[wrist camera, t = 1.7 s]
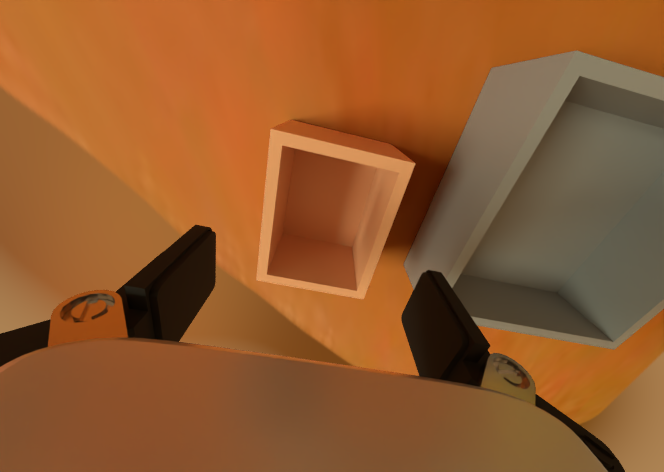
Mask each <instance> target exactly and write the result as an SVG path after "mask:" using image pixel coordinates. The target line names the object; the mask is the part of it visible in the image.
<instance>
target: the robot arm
mask: <svg viewBox="0 0 664 472" xmlns="http://www.w3.org/2000/svg"><path fill="white" fill-rule="evenodd" d="M215 268H216V234H215V232H213V231H212V229H211V228H210V227H205V226H200V225H195V226H193V227H192V228H191V229H190V230H189V231H188V232H186V233H185V234H184V235H183V236H182V237H181V238H179V239H178V240H177V241H176V242H175V243H174V244H172V245H171V246H170V247H169V248H168V249H166V250H165V251H164V252H162V253H161V254H160V255H159V256H157V257H156V258H155V259H154V260H153V261H152V262H150V263H149V264H148V265H147V266H146V267H144V268H143V269H142V270H141V271H140V272H139V273H137V274H136V275H135V276H134V277H133V278H131V279H130V280H129V281H128V282H127V283H126V284H124V285H123V286H122V287H121V288H120V289H118V290H117V291H116V292H114V291H109V290H94V291H88V292H84V293H81V294H77V295H75V296H73V297H71V298H68V299H67V300H65V301H64V302H62V303H61V304H59V305H58V306H57V307H56V308H55V309H54V311H53V313H52V315H51V319H50V320H47V321H43V322H40V323H36V324H33V325H29V326H26V327H22V328H19V329H16V330H12V331H9V332H5V333H1V334H0V472H625V470H624V469H623V467H622V465H621V464H620V462H619V460H618V459H617V458H616V457H615V455H614V454H613V453H612V451H611V450H610V449H609V448H608V447H607V446H606V445H605V444H604V443H603V442H602V441H600V440H599V439H598V438H596V437H595V436H594V435H592V434H591V433H590V432H588V431H587V430H585V429H584V428H583V427H581V426H580V425H578V424H577V423H576V422H574V421H573V420H571V419H570V418H569V417H567V416H566V415H564V414H563V413H562V412H560V411H559V410H557V409H556V408H555V407H553V406H552V405H550V404H549V403H548V402H546V401H545V400H543V399H542V398H541V397H539V396H538V395H536V394H535V391H536V388H535V383H534V381H533V379H532V377H531V376H530V375H529V373H528V372H527V371H526V370H525V369H524V368H523V367H522V366H521V365H520V364H519V363H517V362H516V361H514V360H513V359H511V358H509V357H507V356H505V355H502V354H499V353H493V354H490V353H489V352H488V348H489V347H490V344H489V343H488V341H487V340H486V338H485V337H484V335H483V334H482V332H481V331H480V329H479V328H478V326H477V325H476V323H475V322H474V320H473V319H472V317H471V316H470V314H469V313H468V311H467V310H466V308H465V307H464V305H463V304H462V302H461V301H460V299H459V298H458V296H457V295H456V293H455V292H454V290H453V289H452V287H451V286H450V284H449V283H448V281H447V280H446V278H445V277H444V275H443V274H442V273H441V272H438V271H432V270H427V271H426V272H423V273H422V274H421V276H420V278H419V280H418V282H417V284H416V286H415V289H414V291H413V293H412V295H411V297H410V299H409V301H408V303H407V305H406V307H405V309H404V311H403V314H402V324H403V327H404V330H405V333H406V336H407V339H408V342H409V345H410V348H411V351H412V354H413V357H414V360H415V364H416V367H417V370H418V373H419V376H414V375H408V374H401V373H394V372H388V371H381V370H375V369H368V368H362V367H355V366H348V365H341V364H334V363H328V362H321V361H313V360H307V359H300V358H293V357H286V356H279V355H271V354H265V353H258V352H250V351H244V350H237V349H230V348H222V347H215V346H208V345H199V344H192V343H183V342H179V341H180V339H181V337H182V336H183V335H184V333H185V331H186V330H187V328H188V327H189V325H190V324H191V322H192V321H193V319H194V318H195V316H196V315H197V313H198V312H199V310H200V309H201V307H202V306H203V304H204V303H205V301H206V300H207V298H208V297H209V295H210V293H211V292H212V290H213V288H214V286H215Z"/></svg>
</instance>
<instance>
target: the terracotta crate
mask: <svg viewBox="0 0 664 472" xmlns="http://www.w3.org/2000/svg"><path fill="white" fill-rule="evenodd" d="M415 164H416V163H414V162H413V161H412V160H411V159H409V158H408V157H407V156H406V155H404V154H403V153H402V152H400V151H399V150H398V149H397V148H395V147H394V146H393V145H392V144H389V143H385V142H381V141H377V140H373V139H368V138H364V137H360V136H356V135H352V134H348V133H344V132H340V131H336V130H332V129H328V128H324V127H319V126H315V125H311V124H307V123H303V122H299V121H295V120H289V121H287V122H285V123H283V124H280V125H278V126H276V127H274V128H271V131H270V141H269V152H268V162H267V173H266V183H265V194H264V205H263V215H262V226H261V236H260V247H259V257H258V268H257V279H256V280H257V281H263V282H269V283H274V284H280V285H285V286H291V287H297V288H302V289H308V290H313V291H319V292H325V293H330V294H336V295H341V296H347V297H353V298H358V299H364V297H365V294H366V292H367V289H368V286H369V284H370V281H371V278H372V276H373V273H374V271H375V268H376V265H377V263H378V260H379V258H380V255H381V252H382V250H383V247H384V245H385V242H386V239H387V237H388V234H389V232H390V229H391V226H392V224H393V221H394V218H395V216H396V213H397V211H398V208H399V205H400V203H401V200H402V198H403V195H404V192H405V190H406V187H407V185H408V182H409V179H410V177H411V174H412V172H413V169H414V166H415Z"/></svg>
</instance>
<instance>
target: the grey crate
mask: <svg viewBox="0 0 664 472" xmlns="http://www.w3.org/2000/svg"><path fill="white" fill-rule="evenodd" d="M404 267H405V270H406V272H407V274H408V277H409V279H410V282H411V284H412V287H413V289H415V286H416V284H417V282H418V280H419V278H420V276H421V274H422V273H423V272H426V271H427V270H432V271H438V272H441V273H442V274H443V275H444V277H445V278H446V280H447V281H448V283H449V284H450V286H451V287H452V289H453V290H454V292H455V293H456V295H457V296H458V298H459V299H460V301H461V302H462V304H463V305H464V307H465V308H466V310H467V311H468V313H469V314H470V316H471V317H472V319H473V320H474V322H475V323H476V325H478V326H484V327H489V328H495V329H501V330H507V331H512V332H518V333H524V334H529V335H535V336H541V337H546V338H552V339H558V340H563V341H569V342H575V343H580V344H586V345H592V346H597V347H603V348H609V349H616V348H617V347H618V346H619V345H620V344H622V343H623V342H624V341H625V340H626V339H628V338H629V337H630V336H631V335H632V334H634V333H635V332H636V331H637V330H638V329H640V328H641V327H642V326H643V325H645V324H646V323H647V322H648V321H649V320H651V319H652V318H653V317H654V316H655V315H657V314H658V313H659V312H660V311H661V310H663V309H664V77H661V76H658V75H654V74H651V73H648V72H645V71H641V70H638V69H635V68H632V67H628V66H625V65H622V64H619V63H615V62H612V61H609V60H605V59H602V58H599V57H596V56H592V55H589V54H586V53H583V52H579V51H572V52H567V53H562V54H557V55H553V56H548V57H543V58H538V59H533V60H528V61H523V62H518V63H514V64H509V65H504V66H499V67H494V68H491V70H490V73H489V75H488V77H487V79H486V82H485V84H484V86H483V88H482V90H481V93H480V95H479V97H478V99H477V102H476V104H475V106H474V108H473V111H472V113H471V115H470V117H469V119H468V122H467V124H466V126H465V128H464V131H463V133H462V135H461V137H460V140H459V142H458V144H457V146H456V148H455V151H454V153H453V155H452V157H451V160H450V162H449V164H448V166H447V169H446V171H445V173H444V175H443V177H442V180H441V182H440V184H439V186H438V189H437V191H436V193H435V195H434V198H433V200H432V202H431V204H430V207H429V209H428V211H427V213H426V215H425V218H424V220H423V222H422V224H421V227H420V229H419V231H418V233H417V236H416V238H415V240H414V242H413V244H412V247H411V249H410V251H409V253H408V256H407V258H406V260H405V262H404Z"/></svg>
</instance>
